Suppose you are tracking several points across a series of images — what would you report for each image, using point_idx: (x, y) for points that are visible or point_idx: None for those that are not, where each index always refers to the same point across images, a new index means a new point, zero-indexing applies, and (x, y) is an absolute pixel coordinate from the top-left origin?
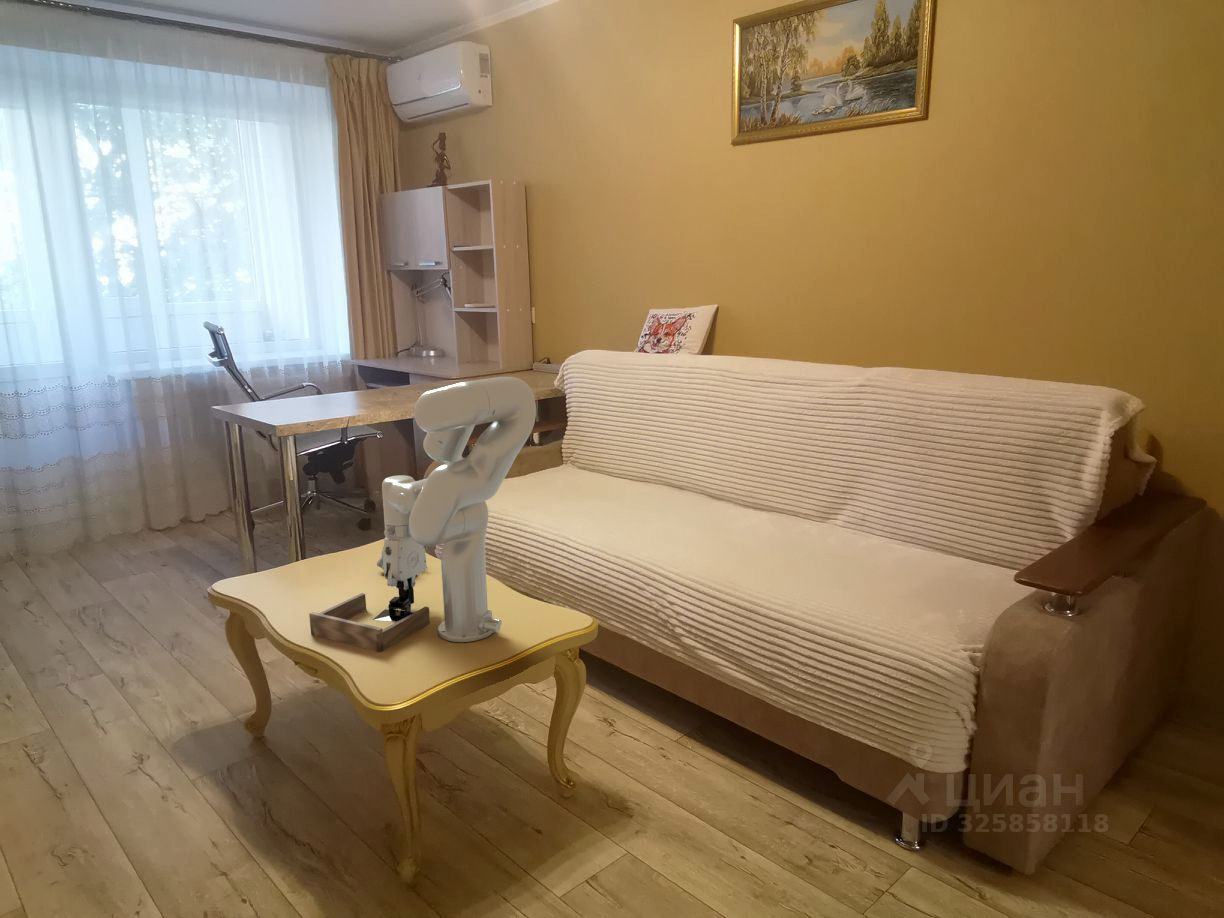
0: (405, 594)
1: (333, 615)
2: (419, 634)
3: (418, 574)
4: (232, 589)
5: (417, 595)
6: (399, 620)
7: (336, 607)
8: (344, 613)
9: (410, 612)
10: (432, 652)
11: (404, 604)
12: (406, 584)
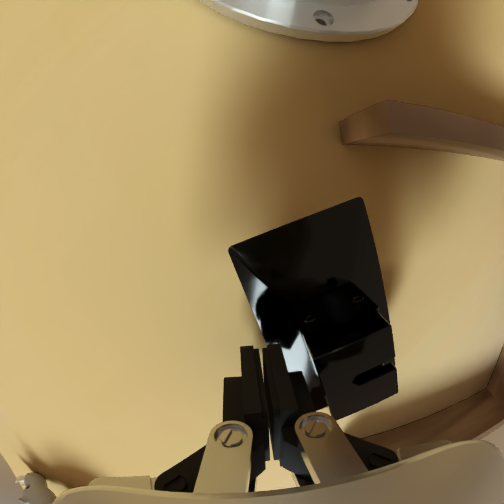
0: (301, 398)
1: (462, 426)
2: (435, 101)
3: (134, 481)
4: None
5: (121, 408)
6: (376, 287)
7: None
8: (424, 435)
9: (295, 305)
10: (469, 7)
11: (377, 318)
12: (320, 446)
